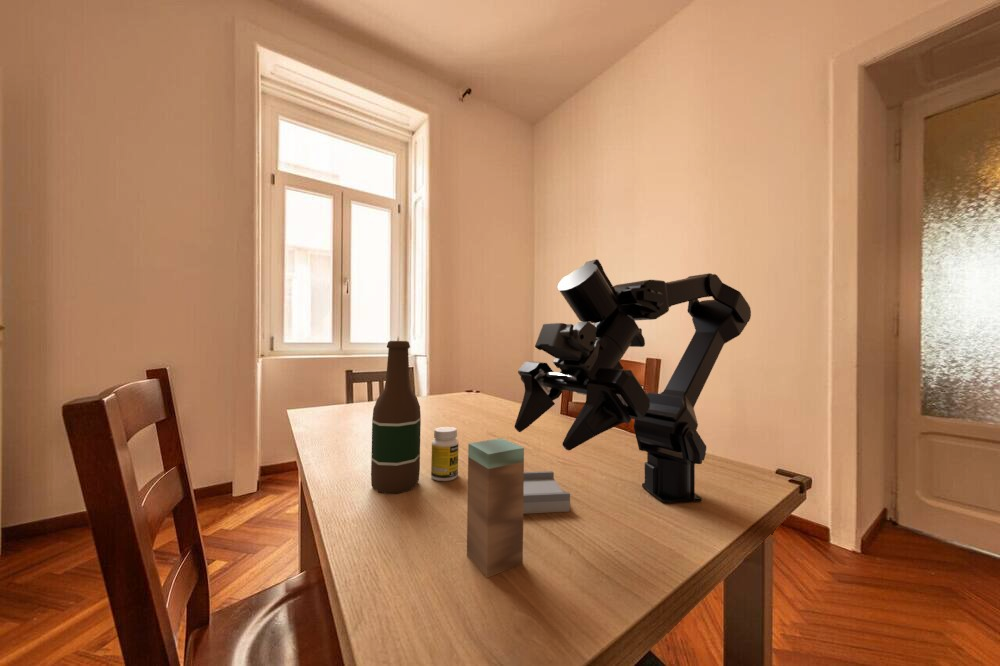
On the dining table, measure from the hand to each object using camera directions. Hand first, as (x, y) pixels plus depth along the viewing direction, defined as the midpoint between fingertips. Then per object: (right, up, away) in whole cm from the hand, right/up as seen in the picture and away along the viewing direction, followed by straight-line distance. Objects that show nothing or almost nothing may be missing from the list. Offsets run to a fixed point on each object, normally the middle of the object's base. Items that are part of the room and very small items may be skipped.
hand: (538, 438), depth 43 cm
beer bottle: (-22, -13, +16) cm, 30 cm away
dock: (-1, -13, +12) cm, 17 cm away
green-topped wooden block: (-5, -12, -4) cm, 14 cm away
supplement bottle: (-14, -13, +20) cm, 28 cm away
